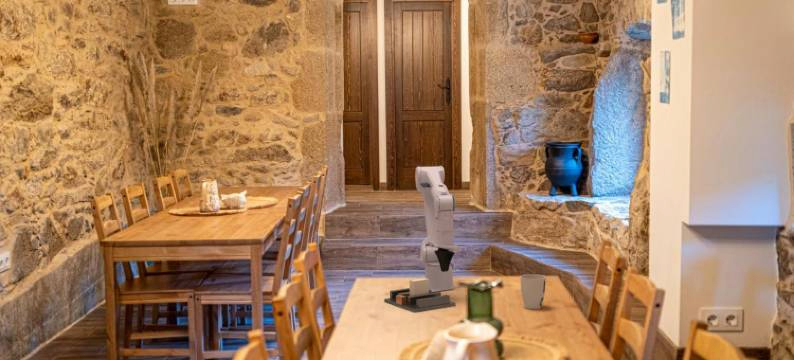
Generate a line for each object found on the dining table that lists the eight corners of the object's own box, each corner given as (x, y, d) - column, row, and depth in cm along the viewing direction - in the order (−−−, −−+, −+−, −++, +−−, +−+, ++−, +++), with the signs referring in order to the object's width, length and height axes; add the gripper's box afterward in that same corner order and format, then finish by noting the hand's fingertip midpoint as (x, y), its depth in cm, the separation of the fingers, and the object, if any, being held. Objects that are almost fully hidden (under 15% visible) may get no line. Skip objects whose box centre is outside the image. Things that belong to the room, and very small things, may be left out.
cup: (547, 310, 286) (547, 279, 285) (521, 310, 286) (521, 279, 285) (543, 304, 294) (544, 274, 293) (518, 304, 294) (518, 274, 293)
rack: (424, 295, 308) (424, 285, 308) (455, 305, 293) (455, 295, 293) (384, 301, 299) (384, 291, 299) (414, 312, 284) (414, 301, 284)
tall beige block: (424, 298, 299) (424, 278, 298) (429, 300, 297) (428, 279, 296) (409, 301, 295) (409, 280, 295) (413, 302, 293) (413, 281, 293)
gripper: (422, 229, 305) (422, 269, 306) (447, 234, 292) (447, 276, 294) (439, 227, 308) (439, 266, 310) (465, 232, 296) (465, 273, 298)
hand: (444, 271), depth 302 cm, fingers closed
